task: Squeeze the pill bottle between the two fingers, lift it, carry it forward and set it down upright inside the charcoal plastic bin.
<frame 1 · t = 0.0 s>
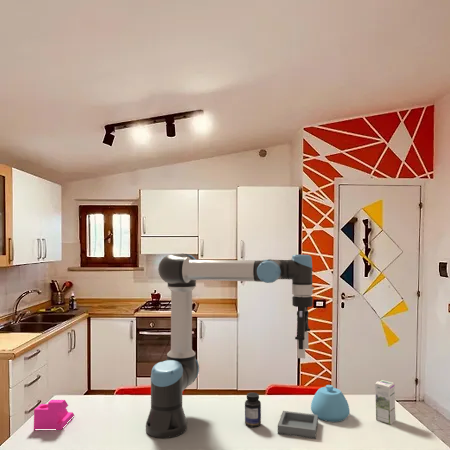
hand: (303, 353, 147), 28 cm above the table, fingers open, 13 cm apart
bracket: (54, 424, 152), on the table
bin: (298, 428, 148), on the table
pill bottle: (252, 424, 151), on the table
syrup box: (385, 420, 154), on the table
sugar bowl: (330, 415, 159), on the table
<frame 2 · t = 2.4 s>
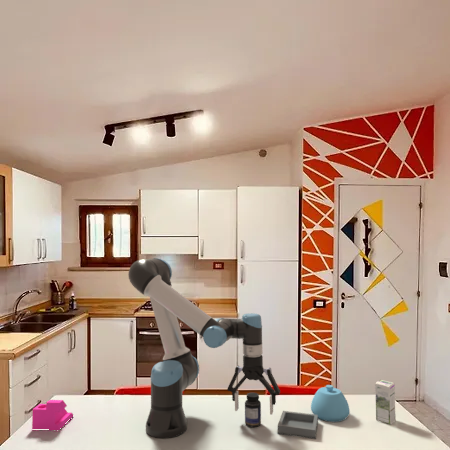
hand: (254, 411, 151), 5 cm above the table, fingers open, 13 cm apart
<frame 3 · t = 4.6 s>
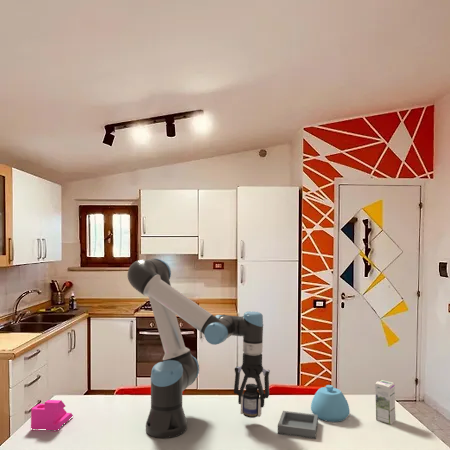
hand: (250, 413, 151), 4 cm above the table, fingers closed on pill bottle, 6 cm apart
pill bottle: (250, 415, 151), point 3 cm above the table, touching gripper
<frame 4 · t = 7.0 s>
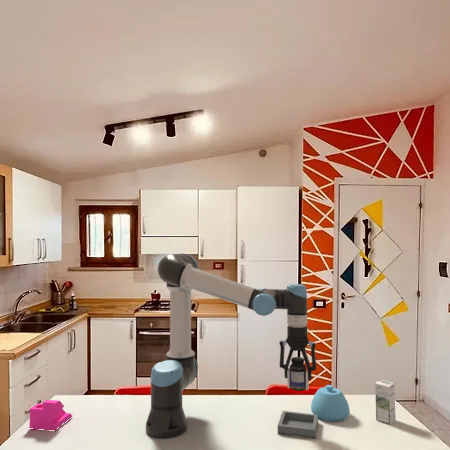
hand: (298, 387, 148), 15 cm above the table, fingers closed on pill bottle, 6 cm apart
pill bottle: (298, 389, 148), point 14 cm above the table, touching gripper
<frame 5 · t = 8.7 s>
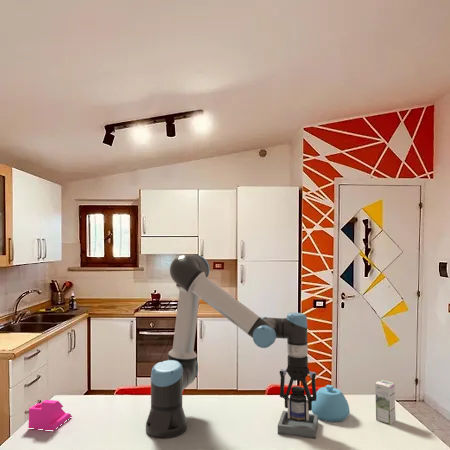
hand: (298, 417, 148), 4 cm above the table, fingers closed on pill bottle, 6 cm apart
pill bottle: (298, 419, 148), point 3 cm above the table, touching gripper
when the fingers open (3 cm above the table, at t = 9.7 s): pill bottle drops 2 cm, resting on bin.
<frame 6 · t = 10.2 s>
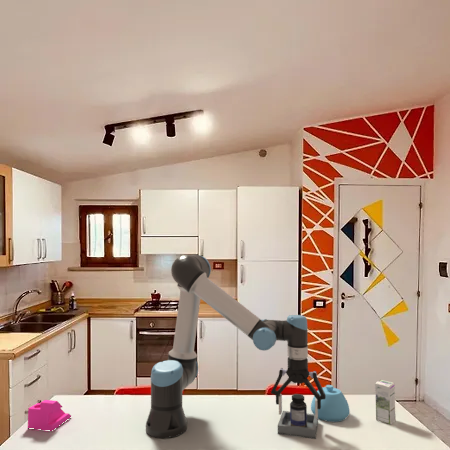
hand: (298, 415, 148), 5 cm above the table, fingers open, 13 cm apart
pill bottle: (298, 427, 147), resting on bin
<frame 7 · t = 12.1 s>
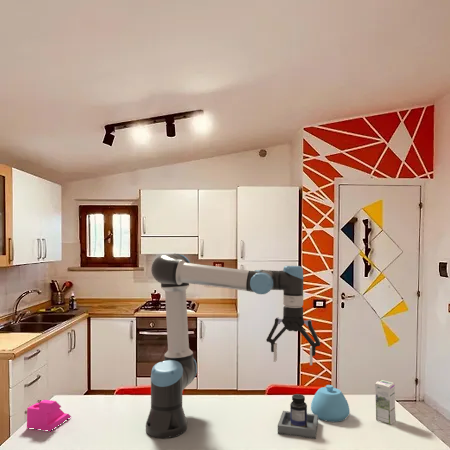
hand: (292, 362, 150), 24 cm above the table, fingers open, 13 cm apart
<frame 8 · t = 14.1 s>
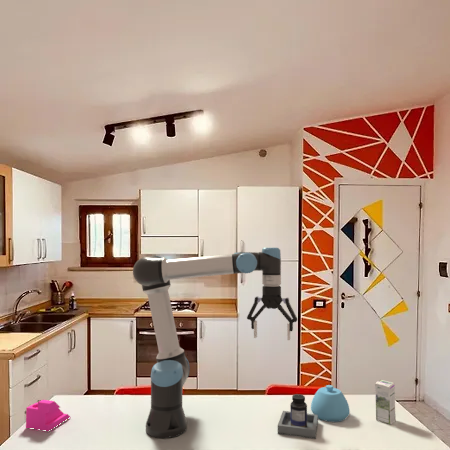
hand: (272, 338, 160), 31 cm above the table, fingers open, 13 cm apart
at the end: pill bottle inside the target area on the bin (0.2 cm from its centre), point 0.4 cm above the bin's base; pill bottle tilted 0°; the gripper is holding nothing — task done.
